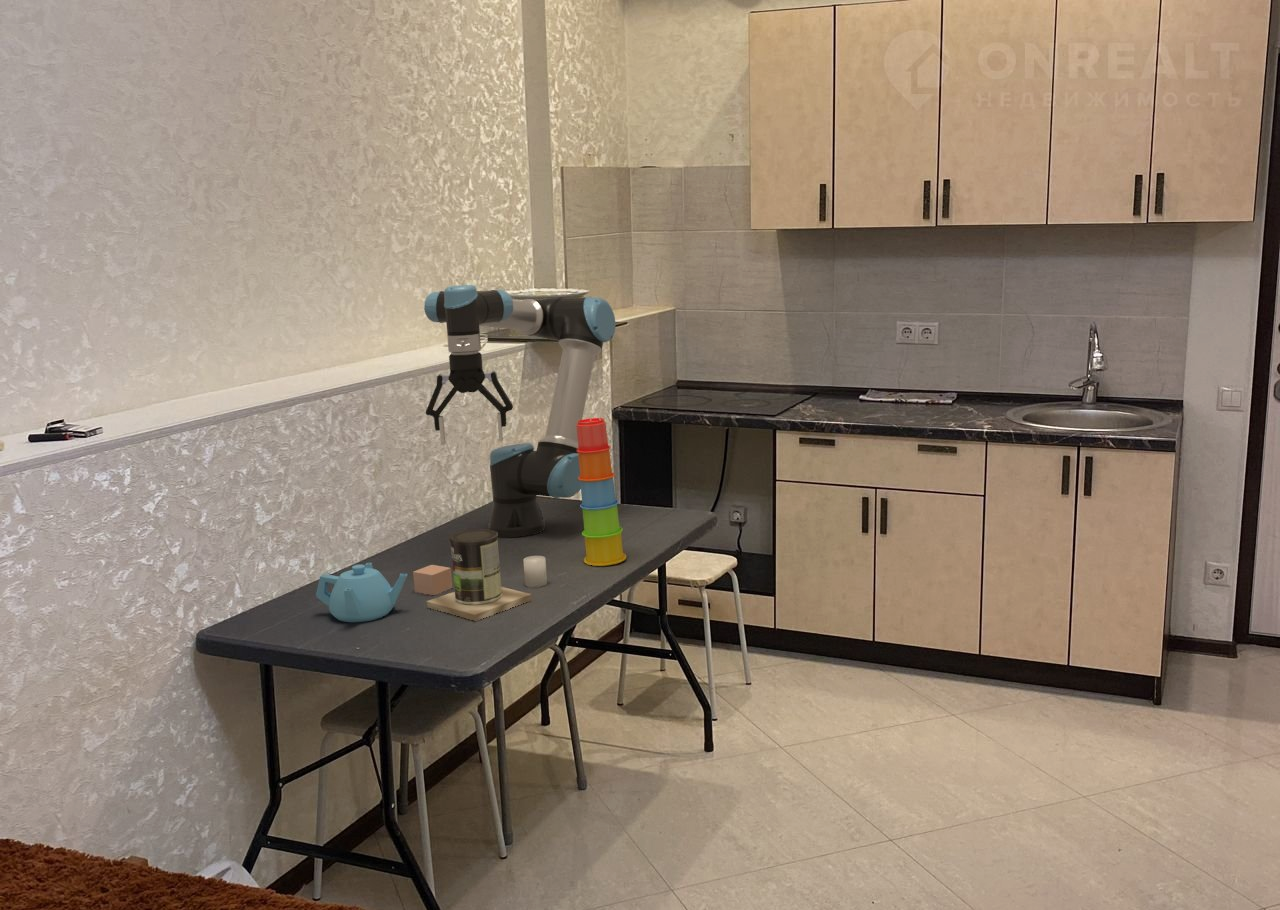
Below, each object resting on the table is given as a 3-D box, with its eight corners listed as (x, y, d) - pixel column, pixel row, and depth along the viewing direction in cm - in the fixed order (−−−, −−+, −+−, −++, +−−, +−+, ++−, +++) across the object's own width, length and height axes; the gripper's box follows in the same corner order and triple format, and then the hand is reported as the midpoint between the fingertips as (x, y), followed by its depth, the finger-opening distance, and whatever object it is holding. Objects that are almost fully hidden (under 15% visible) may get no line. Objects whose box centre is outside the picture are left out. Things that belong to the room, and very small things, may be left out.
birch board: (483, 588, 266) (482, 582, 266) (531, 600, 255) (531, 594, 255) (427, 607, 254) (426, 601, 254) (475, 621, 244) (474, 614, 243)
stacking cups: (597, 569, 276) (589, 425, 269) (576, 560, 284) (567, 419, 277) (634, 561, 281) (627, 419, 274) (612, 552, 289) (604, 414, 283)
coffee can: (461, 608, 248) (456, 544, 245) (450, 595, 257) (444, 533, 255) (508, 600, 252) (503, 536, 249) (495, 587, 261) (490, 526, 258)
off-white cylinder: (536, 579, 271) (534, 554, 269) (551, 583, 267) (549, 557, 266) (520, 585, 267) (518, 559, 266) (535, 588, 264) (533, 563, 263)
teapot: (376, 597, 264) (371, 551, 262) (413, 611, 253) (408, 563, 251) (314, 615, 253) (309, 567, 251) (350, 630, 243) (345, 580, 241)
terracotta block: (433, 585, 271) (431, 564, 270) (452, 588, 267) (450, 567, 266) (415, 592, 266) (413, 571, 265) (434, 596, 262) (432, 575, 261)
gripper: (408, 357, 268) (417, 448, 272) (518, 351, 269) (524, 441, 273) (413, 353, 275) (420, 442, 279) (519, 347, 276) (525, 436, 281)
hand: (472, 442), depth 276 cm, fingers open, 13 cm apart
